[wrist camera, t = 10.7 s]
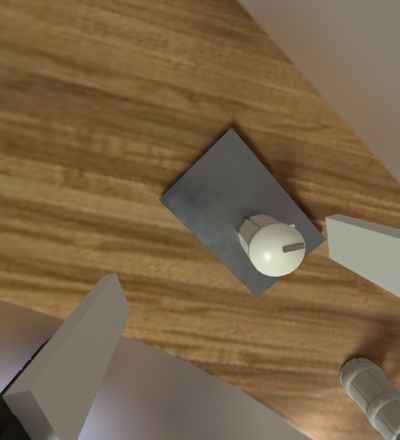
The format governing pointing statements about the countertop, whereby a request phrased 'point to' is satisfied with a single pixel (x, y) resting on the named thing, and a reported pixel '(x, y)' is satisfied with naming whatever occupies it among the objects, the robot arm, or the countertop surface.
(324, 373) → the countertop surface
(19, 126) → the countertop surface
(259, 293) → the panel
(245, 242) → the knob
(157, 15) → the countertop surface
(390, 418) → the mug
